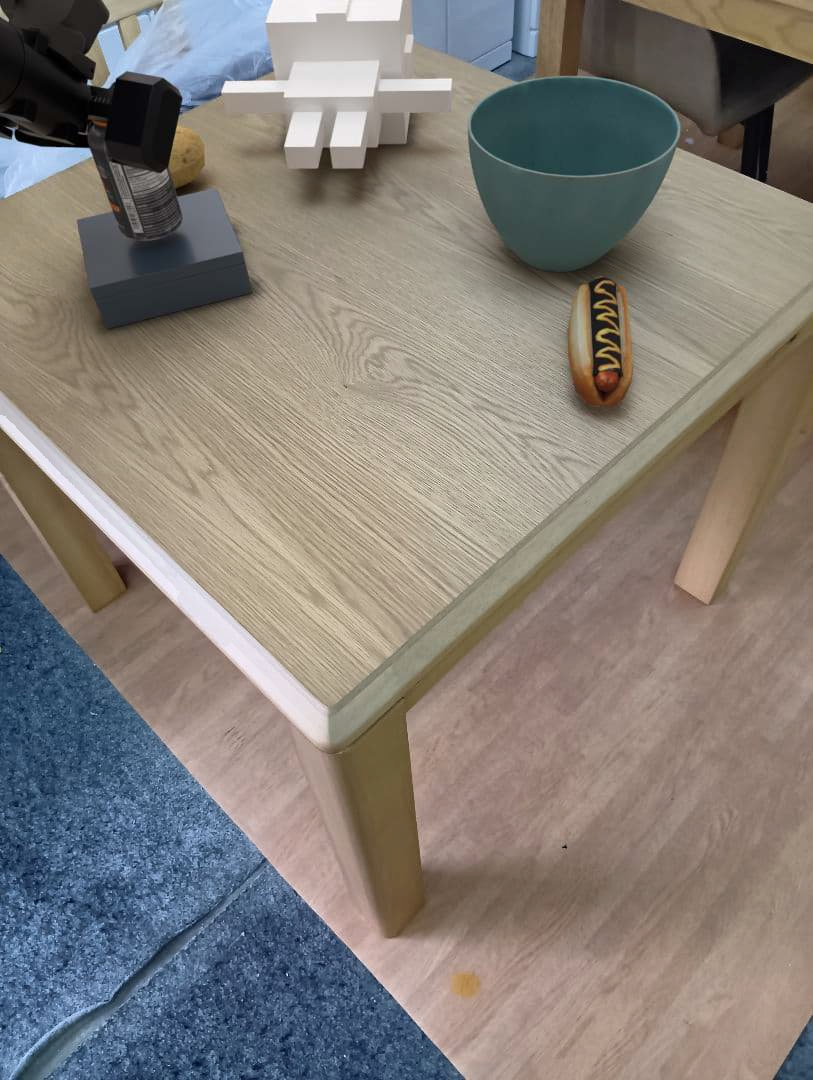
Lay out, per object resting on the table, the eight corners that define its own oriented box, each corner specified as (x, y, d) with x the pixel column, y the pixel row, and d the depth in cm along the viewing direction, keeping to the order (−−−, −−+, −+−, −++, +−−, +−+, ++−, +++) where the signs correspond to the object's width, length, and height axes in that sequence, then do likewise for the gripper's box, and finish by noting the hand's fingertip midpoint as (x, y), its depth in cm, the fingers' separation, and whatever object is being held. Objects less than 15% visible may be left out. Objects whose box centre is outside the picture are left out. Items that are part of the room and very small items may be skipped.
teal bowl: (519, 181, 86) (528, 59, 76) (680, 226, 79) (712, 99, 69) (431, 268, 77) (428, 143, 67) (604, 327, 70) (628, 198, 61)
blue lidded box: (107, 329, 74) (89, 288, 70) (93, 260, 80) (76, 219, 77) (252, 292, 76) (242, 251, 72) (226, 228, 83) (216, 187, 79)
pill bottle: (121, 212, 75) (77, 86, 66) (184, 204, 76) (148, 78, 67) (118, 247, 72) (70, 118, 63) (183, 238, 72) (145, 110, 63)
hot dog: (565, 420, 64) (572, 373, 60) (563, 316, 72) (570, 268, 68) (627, 423, 63) (639, 376, 59) (619, 318, 71) (629, 270, 67)
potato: (209, 200, 86) (194, 143, 81) (108, 208, 86) (87, 151, 81) (214, 168, 90) (200, 112, 85) (118, 175, 90) (98, 120, 85)
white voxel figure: (222, 220, 87) (265, 84, 102) (446, 221, 85) (458, 81, 100) (183, 84, 75) (239, -49, 89) (445, 81, 72) (458, -55, 87)
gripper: (124, -50, 50) (250, 66, 65) (-87, -77, 56) (73, 36, 70) (90, 131, 52) (219, 204, 67) (-111, 89, 58) (50, 165, 72)
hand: (139, 148), depth 69 cm, fingers closed on pill bottle, 6 cm apart
